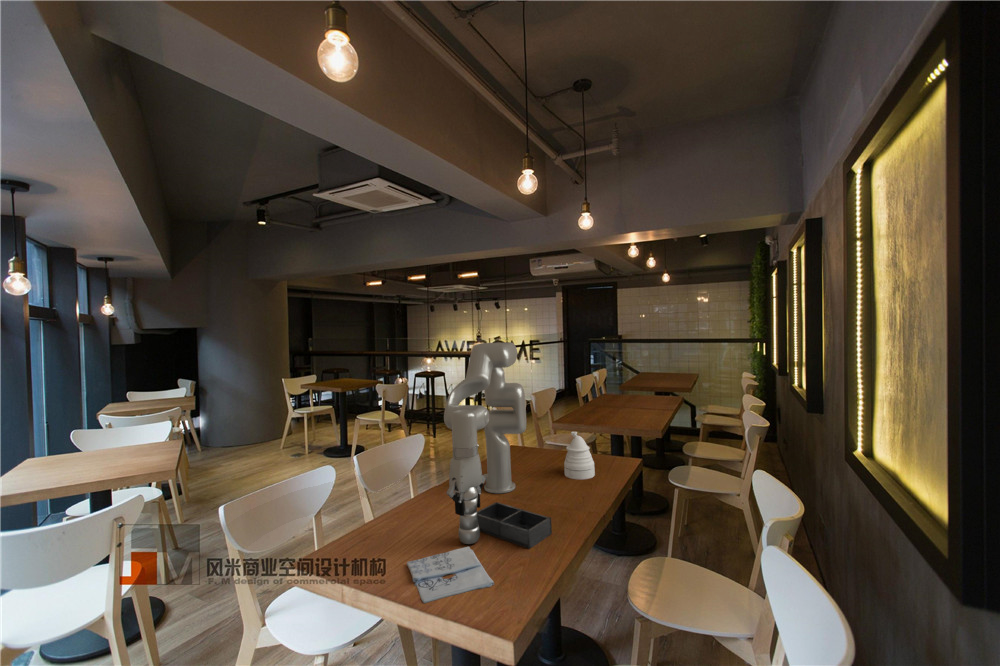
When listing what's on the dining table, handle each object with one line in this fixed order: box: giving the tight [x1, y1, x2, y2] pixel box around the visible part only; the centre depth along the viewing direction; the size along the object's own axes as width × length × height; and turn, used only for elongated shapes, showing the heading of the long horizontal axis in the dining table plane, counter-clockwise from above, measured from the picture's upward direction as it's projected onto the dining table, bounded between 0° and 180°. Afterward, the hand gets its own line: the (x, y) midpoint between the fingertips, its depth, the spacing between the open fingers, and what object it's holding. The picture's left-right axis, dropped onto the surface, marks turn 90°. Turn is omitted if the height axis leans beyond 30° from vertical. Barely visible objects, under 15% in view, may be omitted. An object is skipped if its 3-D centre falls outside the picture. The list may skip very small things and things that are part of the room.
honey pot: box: [563, 431, 596, 480], centre depth 190 cm, size 13×13×18 cm
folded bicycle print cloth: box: [406, 546, 495, 604], centre depth 116 cm, size 19×20×2 cm
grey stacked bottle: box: [458, 487, 481, 545], centre depth 133 cm, size 6×7×20 cm
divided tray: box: [477, 501, 553, 550], centre depth 139 cm, size 22×12×5 cm, turn 50°
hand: (468, 510), depth 133 cm, fingers closed on grey stacked bottle, 6 cm apart
